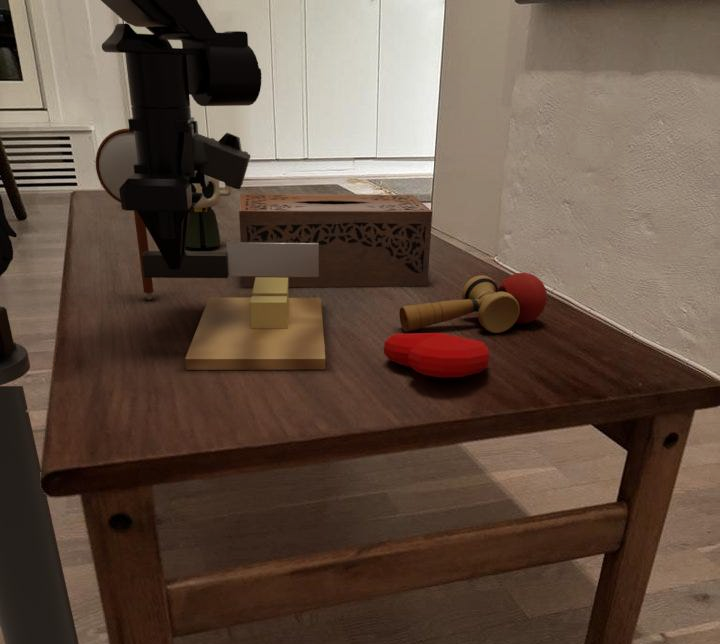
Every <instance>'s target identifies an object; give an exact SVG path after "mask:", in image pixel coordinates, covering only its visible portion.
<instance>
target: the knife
mask: <svg viewBox="0 0 720 644" xmlns="http://www.w3.org/2000/svg"><path fill="white" fill-rule="evenodd" d="M225 246H226V247H225V248H226V251H200V250H199V251H198V250H197V251H193V250H192V251H190V250H185V251H182V252H181V263H180V268H179V269H170V268H169V267H168V265H167V263H166V262H165V260H164V258H163V256H162V254H161V252H160V251H159V250H149V251H145V252H144V253H143V255H142V263H143V272H144V277H145V278H152V279H171V278H172V279H228V277H243V276H272V277H319V243H257V242H241V241H238V242H237V241H227V242H226V243H225Z"/></svg>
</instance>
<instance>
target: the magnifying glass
mask: <svg viewBox="0 0 720 644" xmlns="http://www.w3.org/2000/svg"><path fill="white" fill-rule="evenodd" d="M136 163H138V161H137V152H136V144H135V135H134V131H129V127H128V128H121V129H118V130H114V131H113V132H111V133H109V134H108V135H107V136H106V137H104V138H103V140H102V141H101V142H100V144H99V147H98V148H97V152H96V154H95V170H96V175H97V179H98V180H99V181H98V182H99V183H100V185H101V186H102V188H103V189H104V191H105V192H106V193H107V194H108V195H109V196H110V197H111V198H112V199H114V200H115V201H117V202H119V203H120V204H121V200H120V192H119V188H120V187H121V186H122V185H123V184H124V182H125V181H126V180H127V179H128V178H129V177H131V176H132V175H134V174H135V173H134V165H135V164H136ZM133 215H134V224H135V231H136V238H137V239H136V240H137V247H138V248H137V249H138V254H139V255H138V256H139V264H140V271H141V279H142V280H141V281H142V288H143V293H144V294H145V297H146V300H148V301H151V300H152V299H153V293H154V285H153V278H145V277H144V272H143V263H142V255H143V253H144V252H145V251H150V250H149V242H148V233H147V228H146V226H145V224H144V223H143V221H142V219H141V218H140V216H139V214H138V213H137V211H133Z"/></svg>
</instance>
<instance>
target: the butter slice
mask: <svg viewBox="0 0 720 644" xmlns="http://www.w3.org/2000/svg"><path fill="white" fill-rule="evenodd" d="M250 298H251V301H250V311H251V328H252V329H287V327H288V309H287V296H252V295H251V297H250Z"/></svg>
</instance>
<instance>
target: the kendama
mask: <svg viewBox="0 0 720 644" xmlns="http://www.w3.org/2000/svg"><path fill="white" fill-rule="evenodd" d="M545 286H546V285H545V284H544V283H543V281H541V279H540V278H539V277H537V276H535V275H534V274H531V273H528V272H517V273H514V274H511V275H508V277H506V278H505V279H504V280H503V281H501V283H500V284H499V286H498V285H497V283H496V282H495V280H494V279H492V278H491V277H490V276H488V275H476V276H473V277H472V278H470V279H469V280H468V281H467V282H466V283H465V285H464V286H463V288H462V292H461V299H451V300H450V299H449V300H441V301H436V302H428V303H419V304H411V305H410V304H409V305H402V306H400V307H399V313H398V315H399V322H400V326H401V328H402V330H403V332H405V333H410V332H412V331H416V330H418V329H422V328H426V327H429V326H432V325H437V324H440V323H444V322H448V321H452V320H454V319H458V318H461V317H463V316H466V315H469V314H472V313H474V312H476V313H477V318H478V322H479V324H480V325H481V326H482V327H483V328H484V330H486V331H487V332H489V333H491V334H501V333H505V332H507V331H508V330H510V329H511V328H512V327H513V326H514V325H515V324H517V325H525V324H528V323H531V322H533V321H535V320H537V319H538V318H539V317H540V316H541V315H542V313H543V311H544V310H545V308H546V305H547V301H548V293H547V290H546V287H545Z"/></svg>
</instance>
